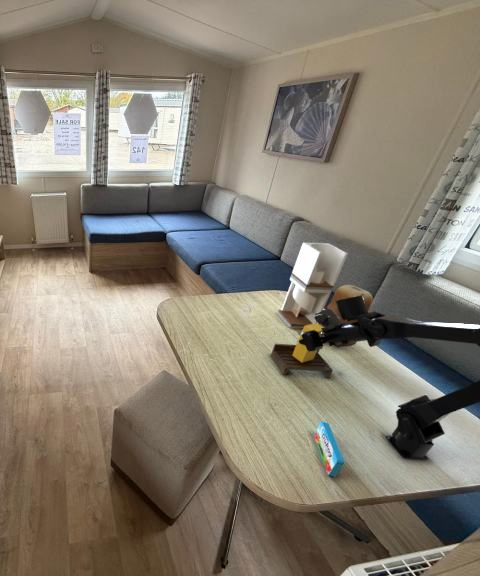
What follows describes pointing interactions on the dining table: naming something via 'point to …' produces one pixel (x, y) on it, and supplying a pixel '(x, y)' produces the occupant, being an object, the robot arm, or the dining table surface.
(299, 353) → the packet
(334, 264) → the white cubby shelf
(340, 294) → the butternut squash
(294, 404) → the dining table surface
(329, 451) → the blue food box
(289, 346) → the rack
